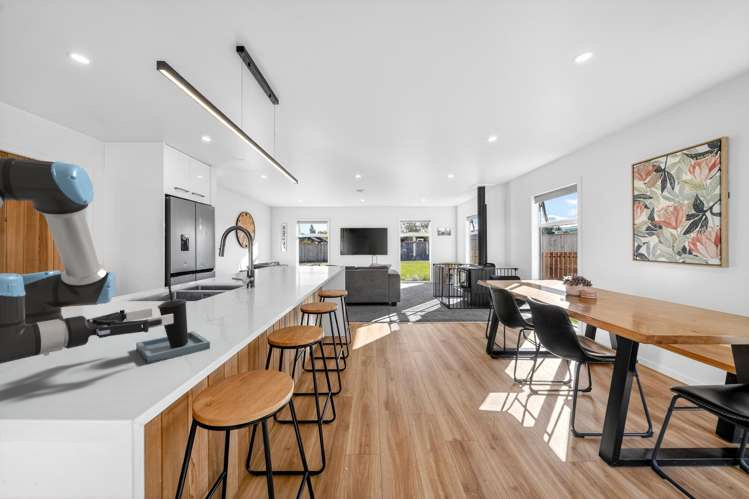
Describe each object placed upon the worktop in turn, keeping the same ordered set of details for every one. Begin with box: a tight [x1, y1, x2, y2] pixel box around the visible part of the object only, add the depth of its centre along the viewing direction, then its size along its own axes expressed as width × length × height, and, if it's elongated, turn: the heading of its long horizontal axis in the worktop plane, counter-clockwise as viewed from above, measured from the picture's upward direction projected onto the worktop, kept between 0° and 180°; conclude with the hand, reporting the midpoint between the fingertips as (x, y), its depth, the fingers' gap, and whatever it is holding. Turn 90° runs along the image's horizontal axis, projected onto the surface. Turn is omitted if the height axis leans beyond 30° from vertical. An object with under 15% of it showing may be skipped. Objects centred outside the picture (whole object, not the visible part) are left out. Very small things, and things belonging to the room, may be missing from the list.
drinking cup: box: [157, 283, 189, 348], centre depth 93 cm, size 8×8×20 cm
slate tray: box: [135, 330, 211, 365], centre depth 93 cm, size 16×16×2 cm
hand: (161, 315), depth 90 cm, fingers open, 13 cm apart
